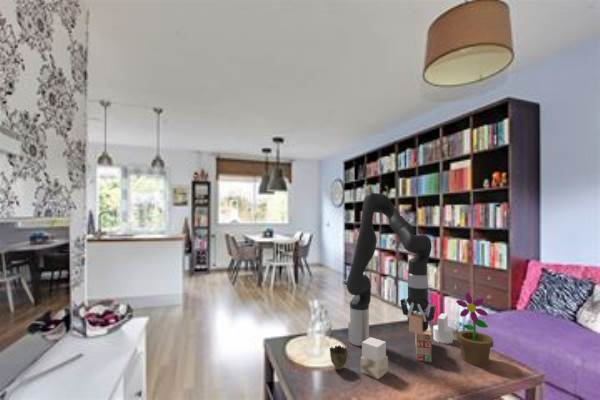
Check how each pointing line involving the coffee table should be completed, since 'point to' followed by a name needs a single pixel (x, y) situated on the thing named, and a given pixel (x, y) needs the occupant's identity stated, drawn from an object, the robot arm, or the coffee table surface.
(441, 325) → the cylinder with rectangular tab
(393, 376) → the coffee table surface
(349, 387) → the coffee table surface
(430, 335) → the stack of blocks
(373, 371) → the maple base block
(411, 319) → the tan block
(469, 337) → the flowerpot
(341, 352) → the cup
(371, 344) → the cream middle block
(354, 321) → the robot arm
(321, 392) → the coffee table surface
